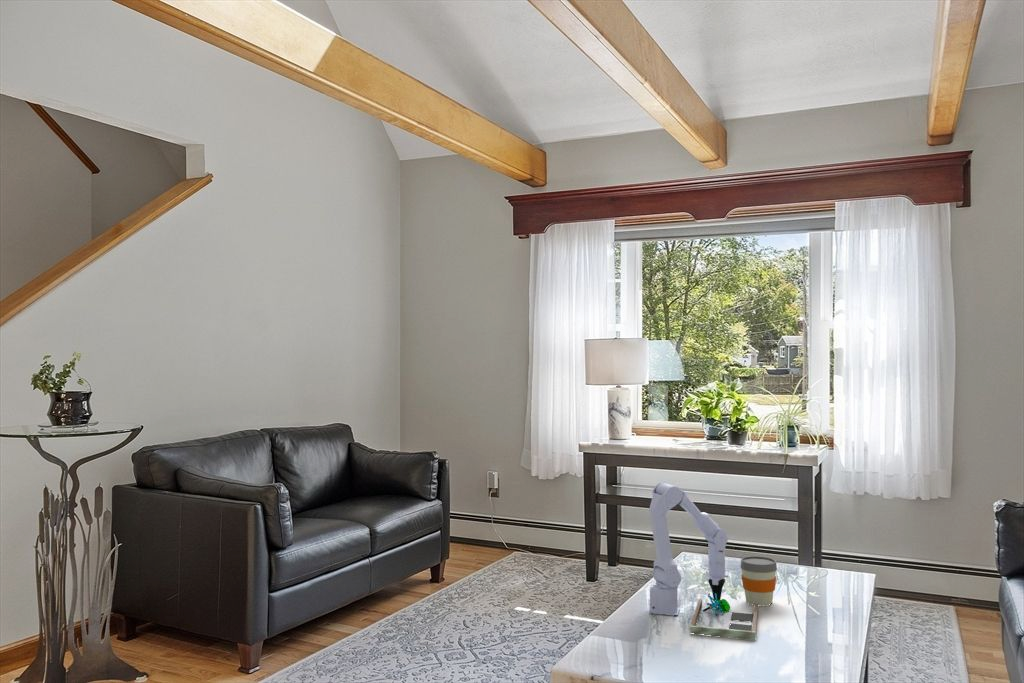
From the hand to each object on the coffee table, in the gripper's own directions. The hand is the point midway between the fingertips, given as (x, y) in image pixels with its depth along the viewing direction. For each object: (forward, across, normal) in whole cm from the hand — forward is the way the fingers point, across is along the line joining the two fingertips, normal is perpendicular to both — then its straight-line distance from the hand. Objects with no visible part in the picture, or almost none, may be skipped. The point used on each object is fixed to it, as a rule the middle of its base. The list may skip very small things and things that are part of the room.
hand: (717, 600), depth 293 cm
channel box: (+2, -17, -4) cm, 18 cm away
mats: (+2, -17, -9) cm, 20 cm away
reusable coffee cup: (+2, +8, -14) cm, 16 cm away
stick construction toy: (+2, -8, 0) cm, 8 cm away
